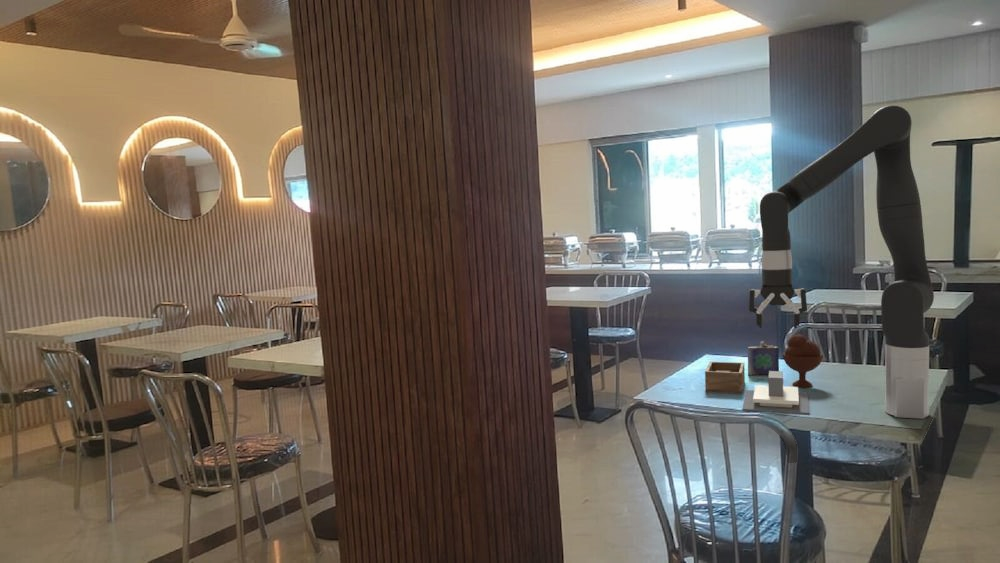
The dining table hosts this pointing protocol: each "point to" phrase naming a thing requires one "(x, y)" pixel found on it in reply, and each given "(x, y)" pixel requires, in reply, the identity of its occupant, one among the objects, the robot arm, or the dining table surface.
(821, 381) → the dining table surface
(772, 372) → the lid
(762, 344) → the flask
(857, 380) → the dining table surface
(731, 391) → the storage box
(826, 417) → the dining table surface
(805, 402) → the rubber mat
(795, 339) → the ice cream bowl
